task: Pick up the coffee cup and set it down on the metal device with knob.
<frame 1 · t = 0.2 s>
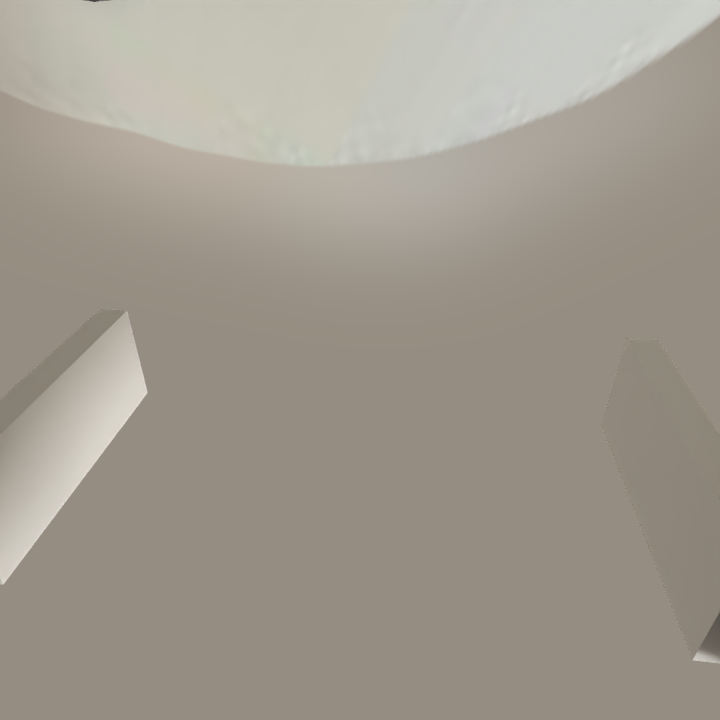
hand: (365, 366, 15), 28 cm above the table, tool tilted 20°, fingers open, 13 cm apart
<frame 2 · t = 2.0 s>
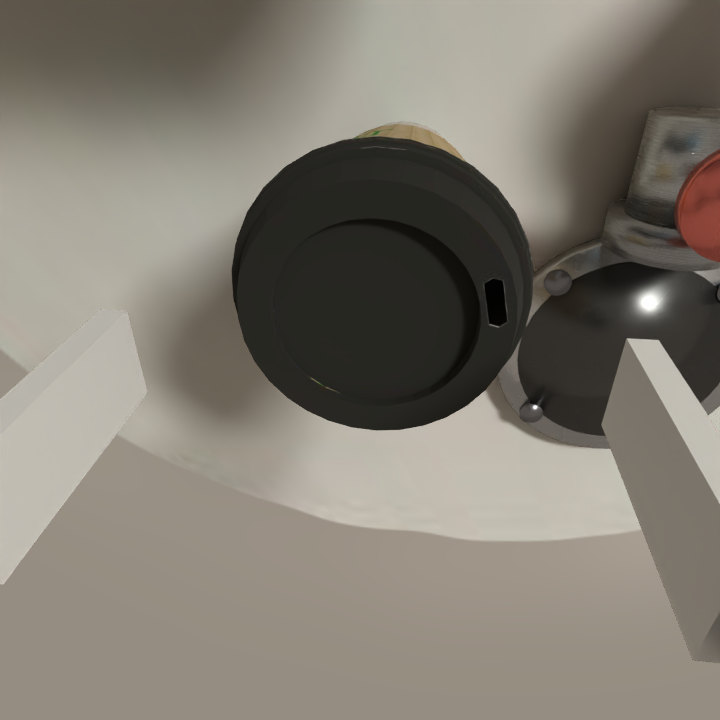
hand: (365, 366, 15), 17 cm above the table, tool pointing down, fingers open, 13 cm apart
coffee cup: (401, 183, 30), on the table
metal device with knob: (617, 346, 33), on the table
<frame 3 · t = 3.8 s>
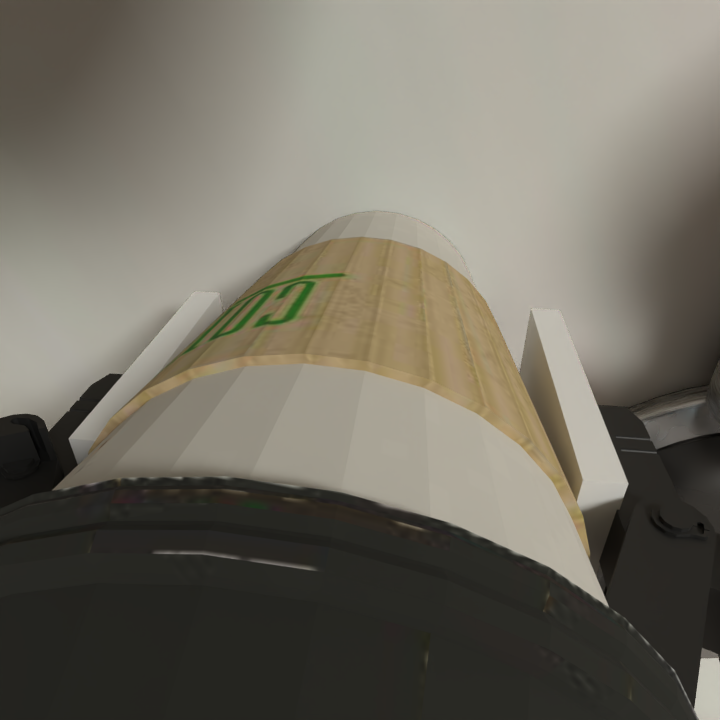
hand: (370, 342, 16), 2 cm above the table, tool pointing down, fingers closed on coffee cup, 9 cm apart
coffee cup: (378, 301, 18), on the table, touching gripper
metal device with knob: (708, 529, 22), on the table
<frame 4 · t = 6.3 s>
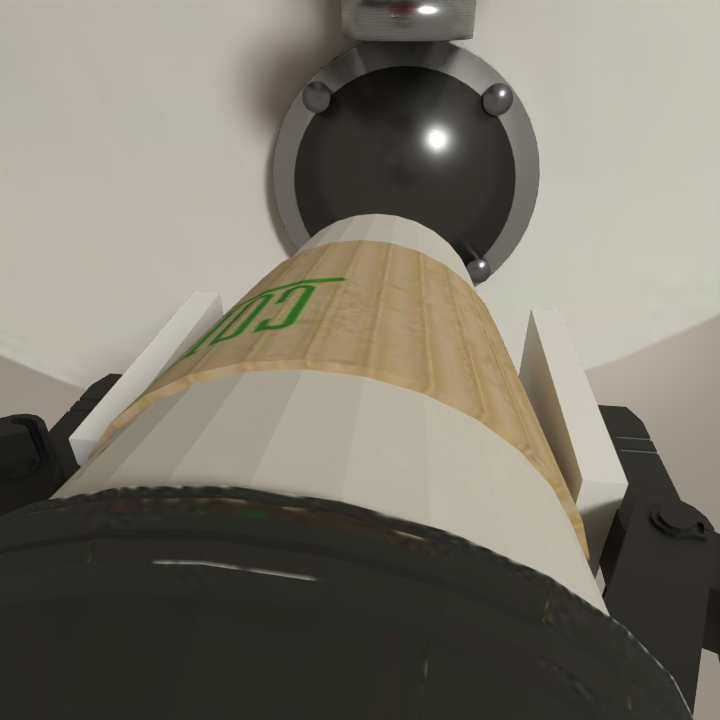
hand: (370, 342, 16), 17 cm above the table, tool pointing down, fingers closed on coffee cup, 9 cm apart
coffee cup: (378, 304, 18), point 15 cm above the table, touching gripper
metal device with knob: (403, 183, 31), on the table
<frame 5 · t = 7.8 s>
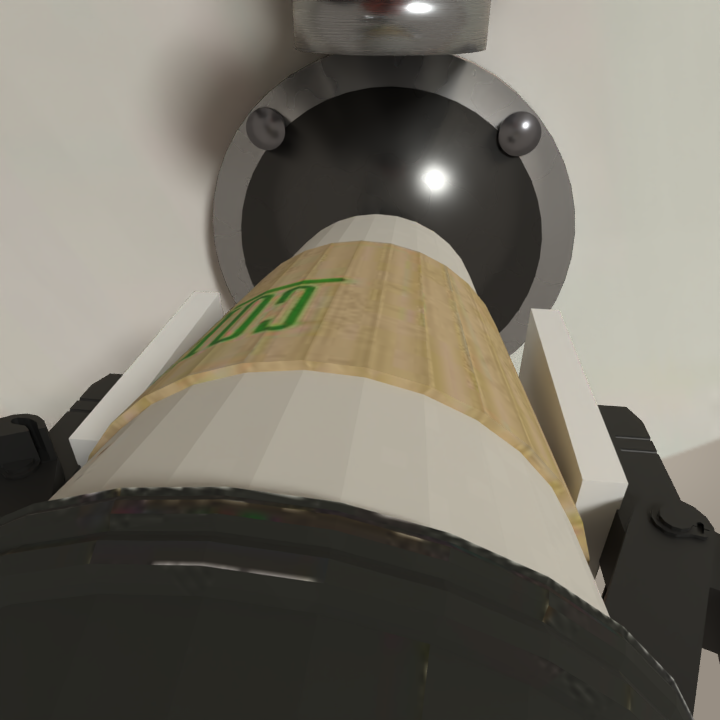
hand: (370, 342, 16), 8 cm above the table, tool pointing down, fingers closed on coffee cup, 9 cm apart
coffee cup: (378, 304, 18), point 5 cm above the table, touching gripper
metal device with knob: (389, 240, 23), on the table
when the fingers open (5 cm above the table, at t = 8.9 s): coffee cup drops 1 cm, point 1 cm above the table.
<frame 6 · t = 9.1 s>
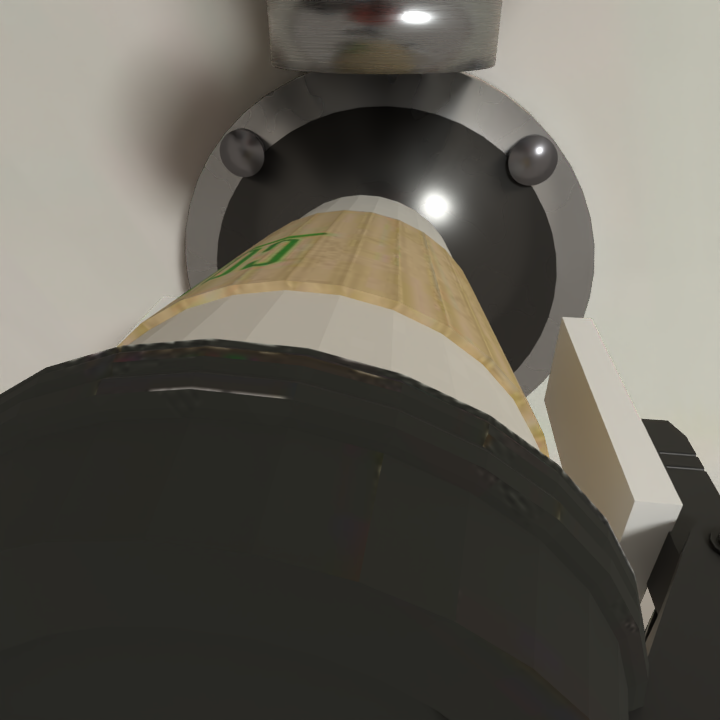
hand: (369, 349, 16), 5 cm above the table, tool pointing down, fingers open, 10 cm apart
coffee cup: (364, 284, 19), point 1 cm above the table, touching gripper
metal device with knob: (383, 275, 20), on the table
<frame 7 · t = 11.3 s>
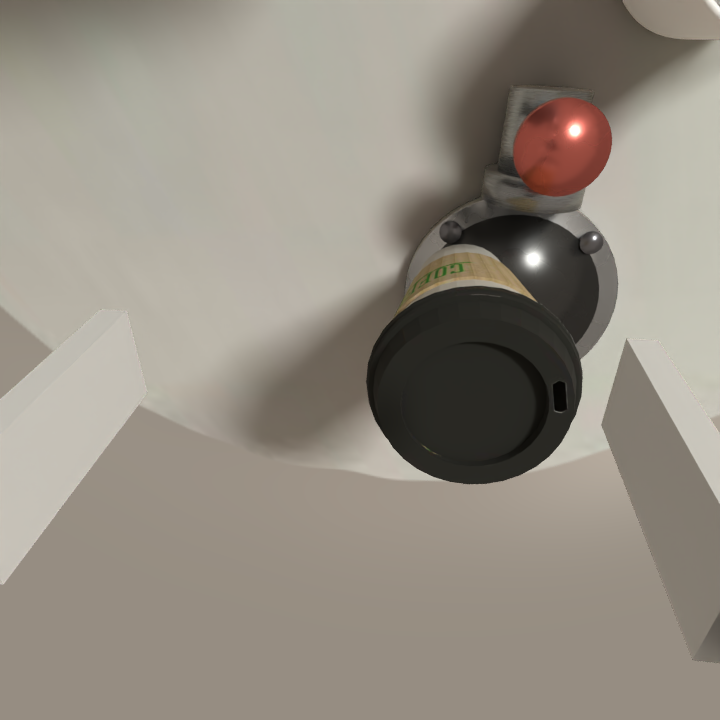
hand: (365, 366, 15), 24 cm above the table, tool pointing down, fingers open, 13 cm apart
coffee cup: (461, 288, 38), point 1 cm above the table, touching metal device with knob
metal device with knob: (506, 294, 39), on the table
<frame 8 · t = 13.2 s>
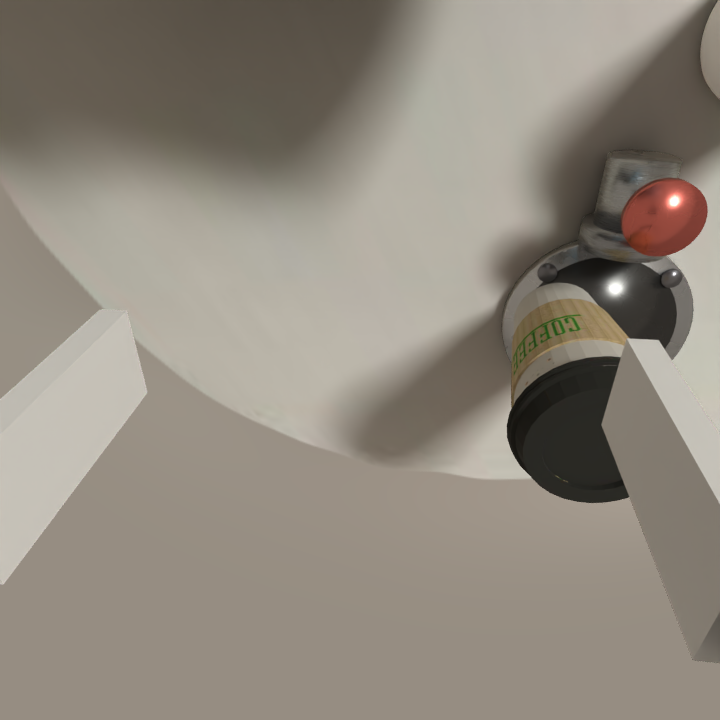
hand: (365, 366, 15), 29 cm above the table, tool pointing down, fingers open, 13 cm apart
coffee cup: (554, 317, 44), point 1 cm above the table, touching metal device with knob
metal device with knob: (591, 320, 45), on the table
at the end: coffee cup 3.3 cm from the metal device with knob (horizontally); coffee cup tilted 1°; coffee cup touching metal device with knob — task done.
